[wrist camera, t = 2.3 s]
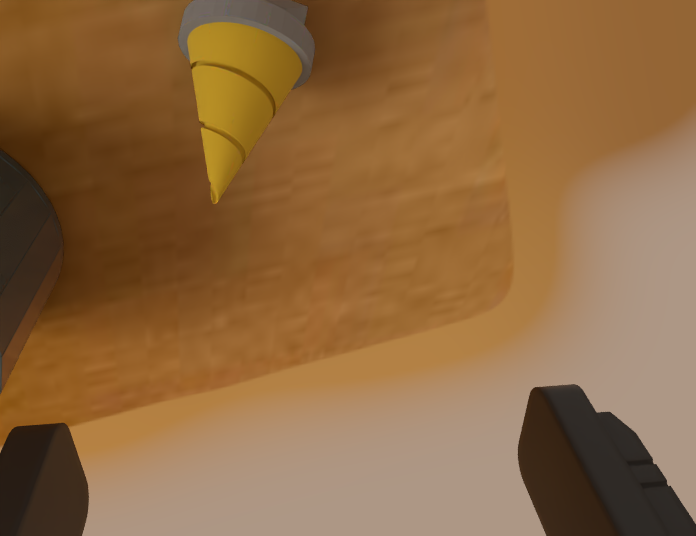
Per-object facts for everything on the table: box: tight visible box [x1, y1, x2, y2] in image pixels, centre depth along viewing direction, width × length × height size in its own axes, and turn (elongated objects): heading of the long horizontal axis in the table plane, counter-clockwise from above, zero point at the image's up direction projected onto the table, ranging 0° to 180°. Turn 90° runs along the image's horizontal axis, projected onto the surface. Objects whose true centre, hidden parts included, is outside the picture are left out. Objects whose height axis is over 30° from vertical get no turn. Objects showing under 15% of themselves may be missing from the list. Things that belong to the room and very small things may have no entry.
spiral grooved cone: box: [178, 0, 315, 204], centre depth 25 cm, size 5×5×10 cm
